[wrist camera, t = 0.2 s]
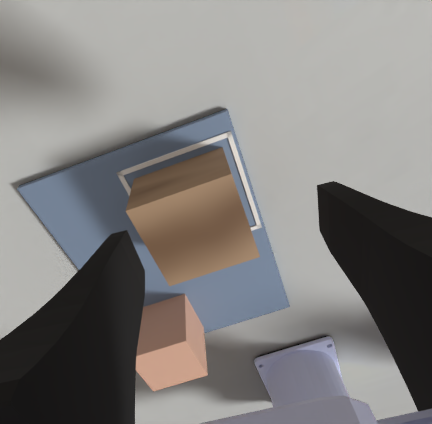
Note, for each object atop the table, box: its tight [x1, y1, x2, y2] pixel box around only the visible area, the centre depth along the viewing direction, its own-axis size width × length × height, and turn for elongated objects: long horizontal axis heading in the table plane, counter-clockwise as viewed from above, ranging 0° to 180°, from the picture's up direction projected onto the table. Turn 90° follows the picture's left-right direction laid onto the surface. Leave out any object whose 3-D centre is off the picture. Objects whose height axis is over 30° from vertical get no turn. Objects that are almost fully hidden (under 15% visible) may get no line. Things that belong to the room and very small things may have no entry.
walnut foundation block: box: [126, 147, 260, 286], centre depth 21 cm, size 6×6×4 cm
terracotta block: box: [136, 294, 208, 391], centre depth 26 cm, size 4×4×4 cm
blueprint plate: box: [17, 109, 290, 333], centre depth 25 cm, size 18×14×1 cm
